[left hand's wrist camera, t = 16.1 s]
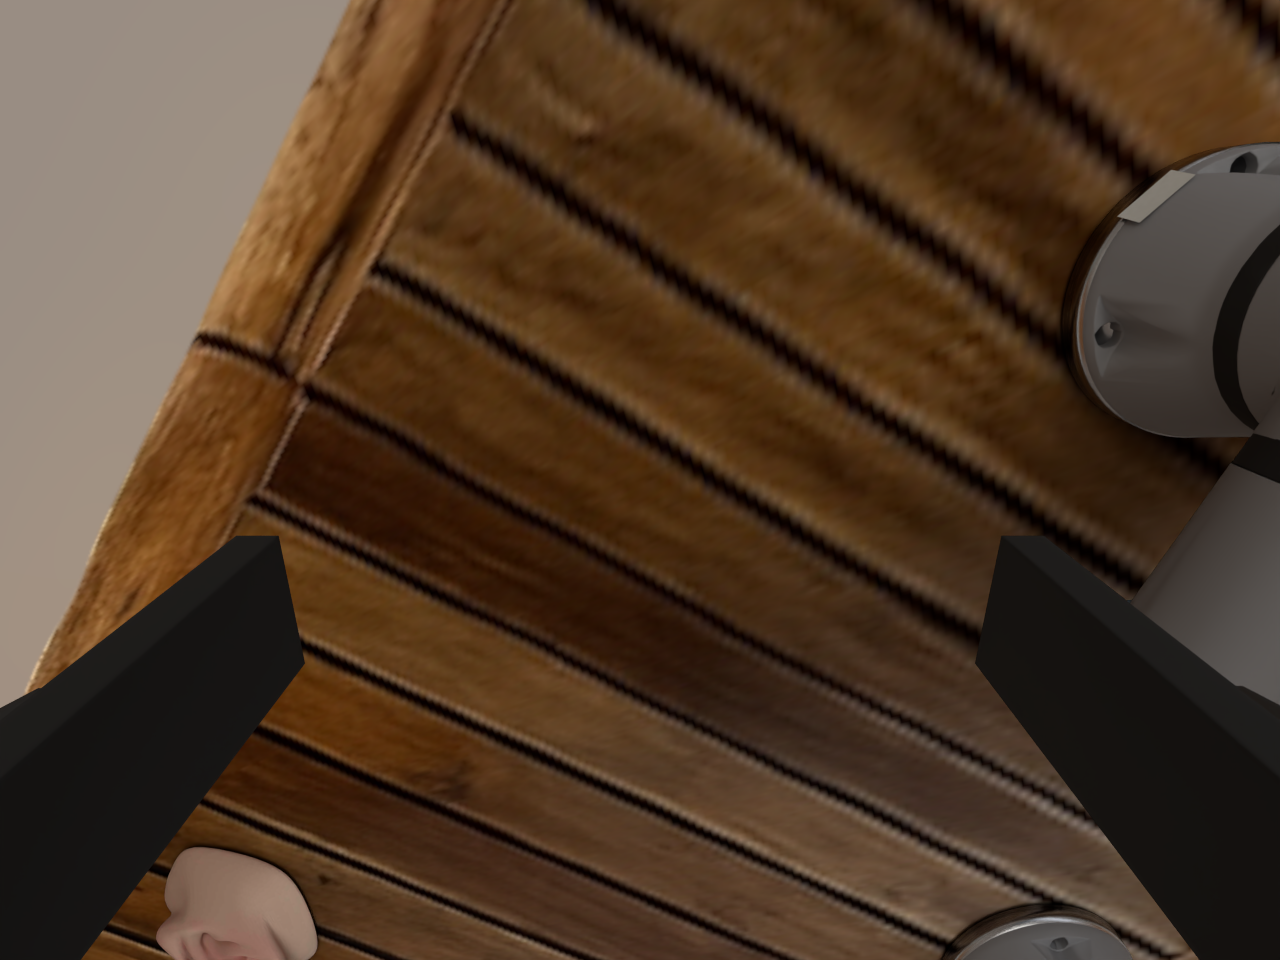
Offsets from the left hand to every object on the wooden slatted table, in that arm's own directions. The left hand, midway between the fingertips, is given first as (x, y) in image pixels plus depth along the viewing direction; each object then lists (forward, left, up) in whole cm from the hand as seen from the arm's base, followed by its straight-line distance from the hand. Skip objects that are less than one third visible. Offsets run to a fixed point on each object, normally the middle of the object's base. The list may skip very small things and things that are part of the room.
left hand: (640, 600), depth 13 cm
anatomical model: (+5, +55, -28) cm, 62 cm away
